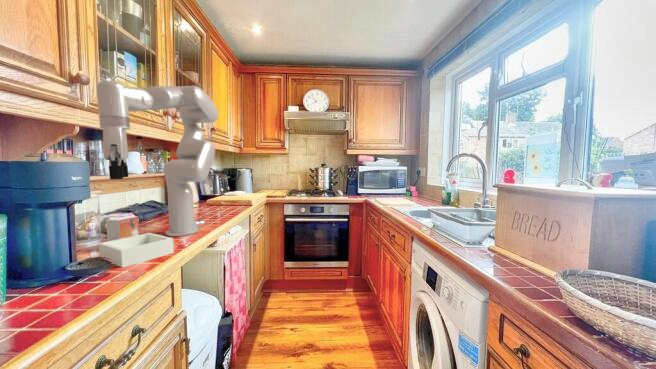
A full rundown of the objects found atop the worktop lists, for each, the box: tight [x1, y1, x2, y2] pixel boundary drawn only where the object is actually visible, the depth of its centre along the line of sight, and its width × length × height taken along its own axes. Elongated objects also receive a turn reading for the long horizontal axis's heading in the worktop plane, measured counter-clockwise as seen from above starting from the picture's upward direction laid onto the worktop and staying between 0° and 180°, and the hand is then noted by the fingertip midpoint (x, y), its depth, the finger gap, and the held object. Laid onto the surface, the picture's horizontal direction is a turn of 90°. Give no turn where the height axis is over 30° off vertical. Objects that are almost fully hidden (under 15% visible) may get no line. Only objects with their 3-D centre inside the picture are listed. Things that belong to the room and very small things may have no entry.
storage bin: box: [97, 232, 175, 268], centre depth 90 cm, size 15×15×5 cm
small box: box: [105, 215, 140, 242], centre depth 100 cm, size 8×6×10 cm
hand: (119, 178), depth 88 cm, fingers open, 9 cm apart
